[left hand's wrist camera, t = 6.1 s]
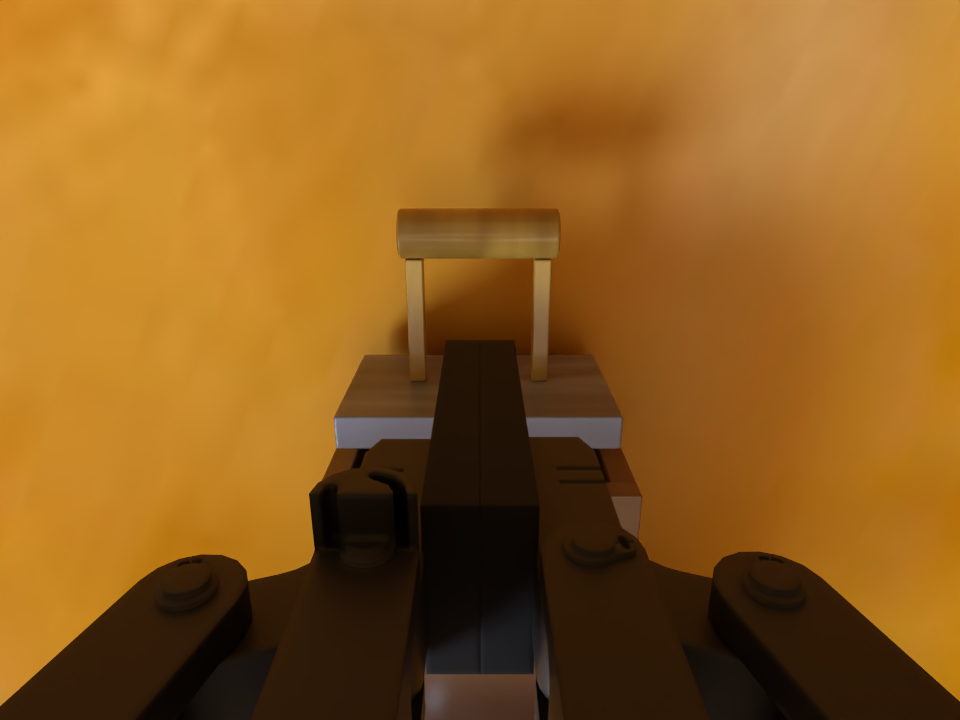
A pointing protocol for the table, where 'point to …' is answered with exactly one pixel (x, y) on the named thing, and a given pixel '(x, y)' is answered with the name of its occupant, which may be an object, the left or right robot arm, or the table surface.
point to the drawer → (415, 377)
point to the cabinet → (511, 697)
